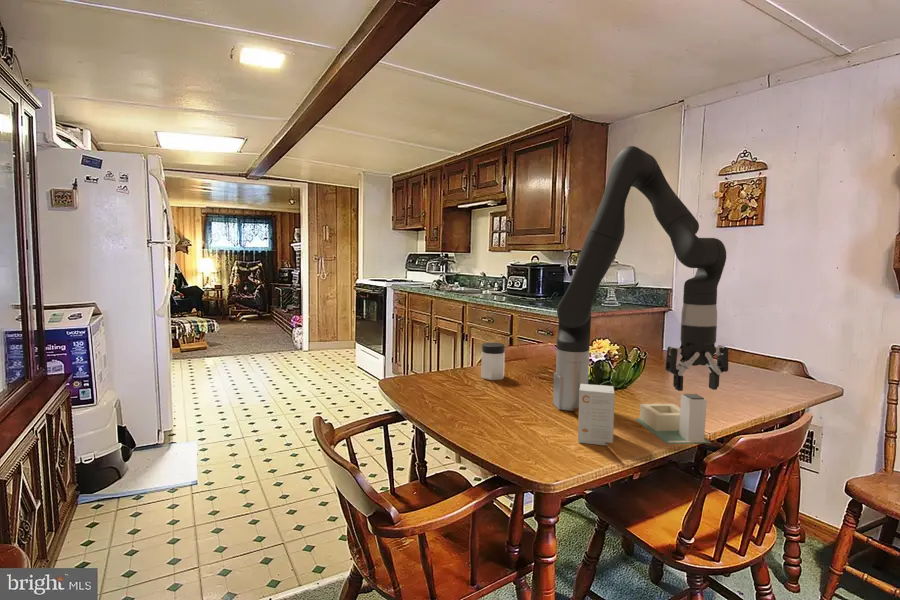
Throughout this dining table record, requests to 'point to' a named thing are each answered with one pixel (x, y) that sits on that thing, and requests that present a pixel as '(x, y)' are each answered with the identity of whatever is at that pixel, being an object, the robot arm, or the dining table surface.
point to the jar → (492, 361)
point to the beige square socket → (661, 416)
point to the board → (670, 436)
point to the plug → (692, 417)
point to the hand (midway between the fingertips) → (695, 389)
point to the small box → (596, 414)
